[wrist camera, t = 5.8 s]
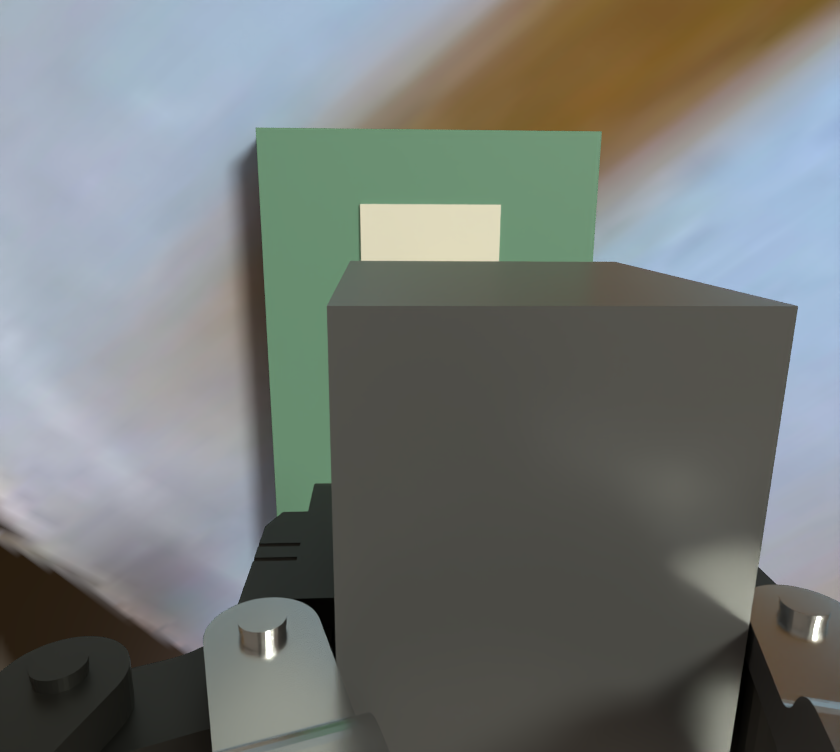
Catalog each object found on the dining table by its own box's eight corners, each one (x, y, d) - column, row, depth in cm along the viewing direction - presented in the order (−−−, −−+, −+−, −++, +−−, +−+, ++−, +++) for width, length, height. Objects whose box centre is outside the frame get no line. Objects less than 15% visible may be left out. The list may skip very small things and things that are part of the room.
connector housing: (350, 260, 11) (326, 305, 6) (614, 262, 11) (797, 305, 6) (358, 740, 13) (346, 1050, 8) (575, 730, 13) (687, 1027, 9)
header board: (263, 132, 24) (234, 114, 19) (588, 135, 25) (639, 119, 20) (283, 533, 28) (264, 601, 23) (563, 525, 29) (600, 591, 24)
